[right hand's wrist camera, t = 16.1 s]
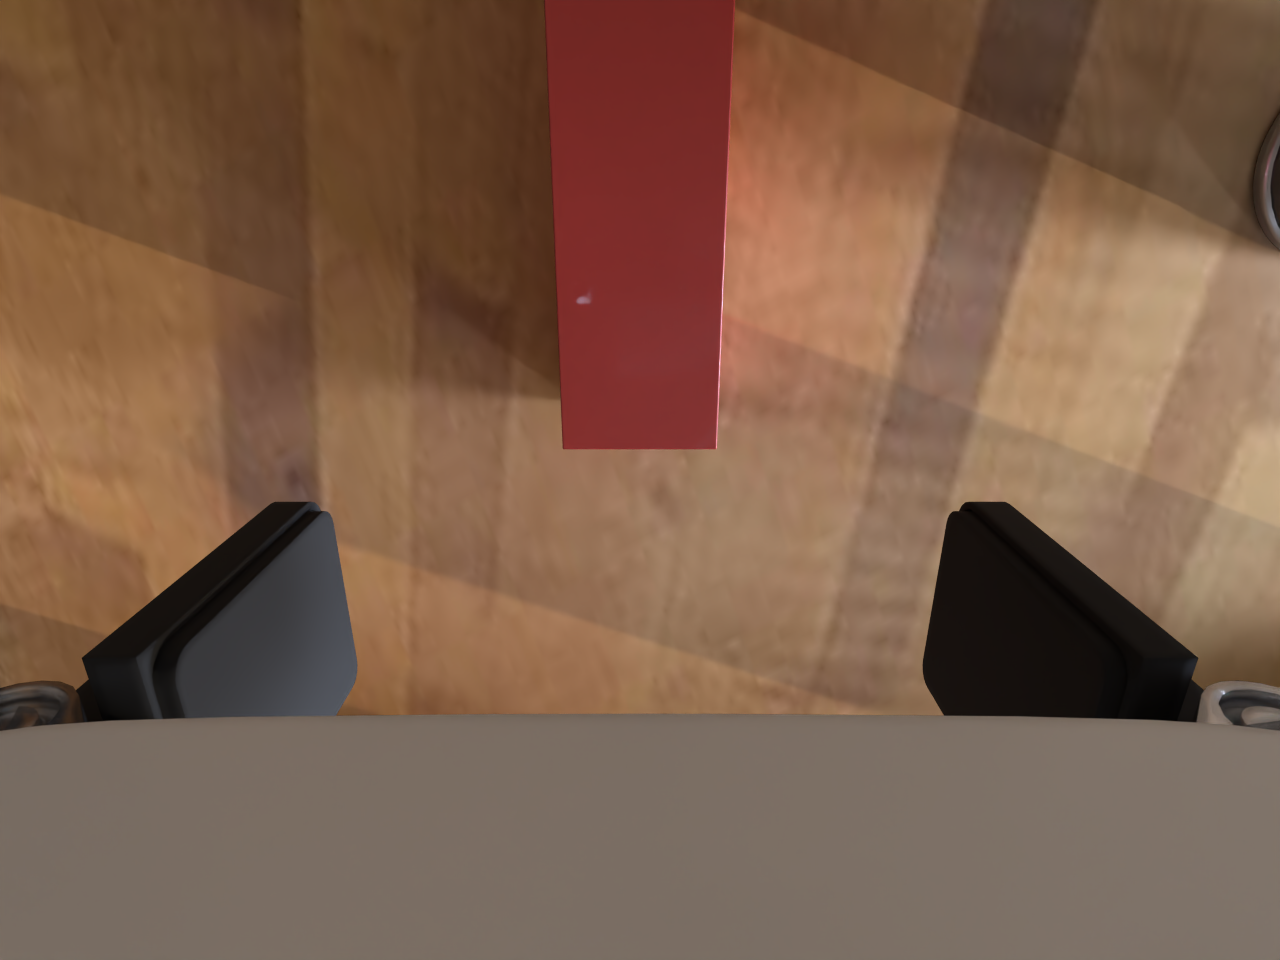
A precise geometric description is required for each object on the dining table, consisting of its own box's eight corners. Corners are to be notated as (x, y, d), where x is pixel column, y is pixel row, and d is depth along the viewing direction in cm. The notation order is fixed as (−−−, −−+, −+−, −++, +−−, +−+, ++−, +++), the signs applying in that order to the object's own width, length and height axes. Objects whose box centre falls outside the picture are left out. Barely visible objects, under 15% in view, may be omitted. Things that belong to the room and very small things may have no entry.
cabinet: (562, -56, 30) (538, -137, 23) (716, -55, 30) (740, -137, 23) (577, 402, 38) (562, 449, 30) (702, 402, 38) (717, 449, 30)
